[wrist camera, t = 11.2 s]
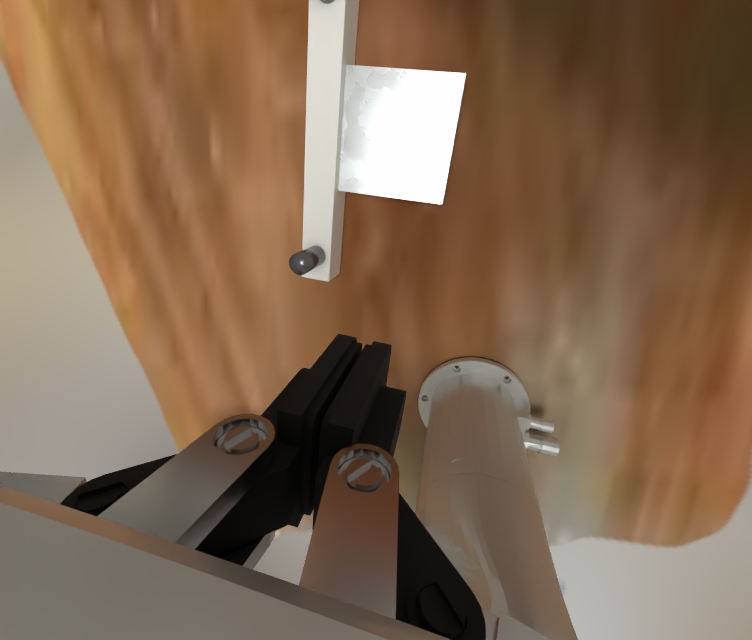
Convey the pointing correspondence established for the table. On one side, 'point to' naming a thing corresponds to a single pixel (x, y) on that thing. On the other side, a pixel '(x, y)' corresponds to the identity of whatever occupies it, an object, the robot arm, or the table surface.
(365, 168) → the metal plate
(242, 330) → the table surface
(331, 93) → the bar
